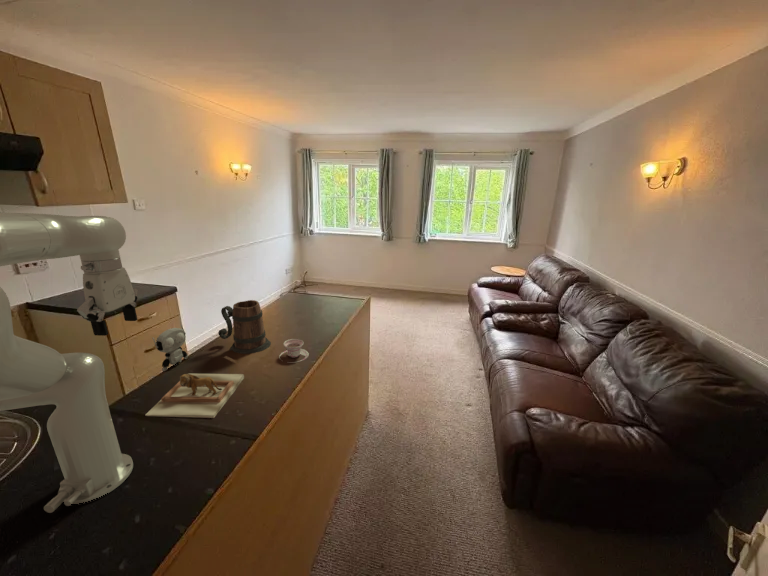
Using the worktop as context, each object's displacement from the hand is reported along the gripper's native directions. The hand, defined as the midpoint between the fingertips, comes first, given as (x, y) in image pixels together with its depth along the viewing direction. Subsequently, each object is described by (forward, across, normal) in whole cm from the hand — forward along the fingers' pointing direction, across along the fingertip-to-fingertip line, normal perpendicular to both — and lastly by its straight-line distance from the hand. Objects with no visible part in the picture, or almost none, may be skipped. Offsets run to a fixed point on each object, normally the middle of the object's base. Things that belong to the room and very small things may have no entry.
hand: (117, 327), depth 84 cm
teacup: (+30, +39, -35) cm, 61 cm away
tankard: (+29, +48, -11) cm, 57 cm away
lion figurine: (+28, +12, -13) cm, 33 cm away
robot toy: (+29, +30, +8) cm, 43 cm away
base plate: (+30, +12, -12) cm, 34 cm away
